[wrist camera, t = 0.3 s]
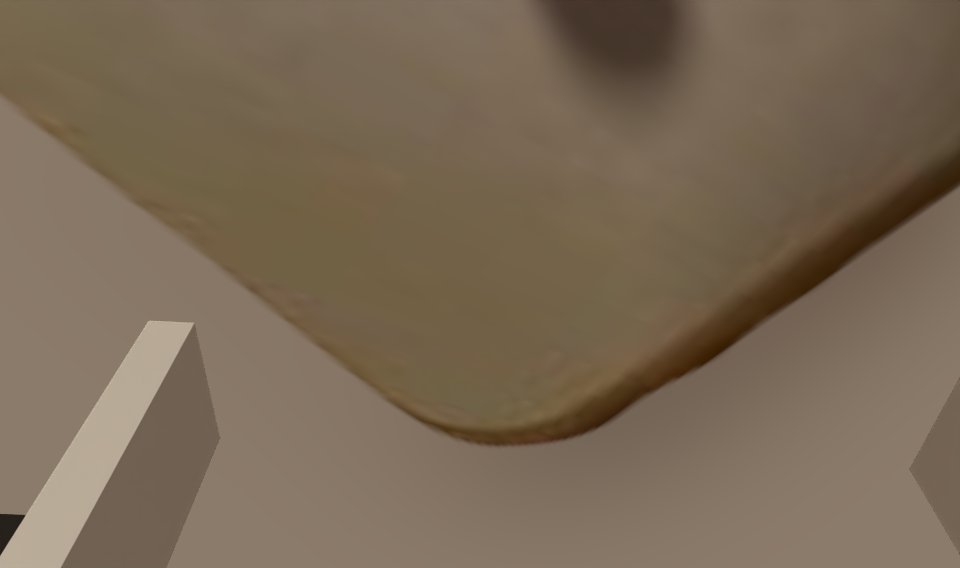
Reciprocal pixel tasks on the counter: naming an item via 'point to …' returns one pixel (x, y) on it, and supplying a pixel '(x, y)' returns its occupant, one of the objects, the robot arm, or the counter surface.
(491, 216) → the counter surface
